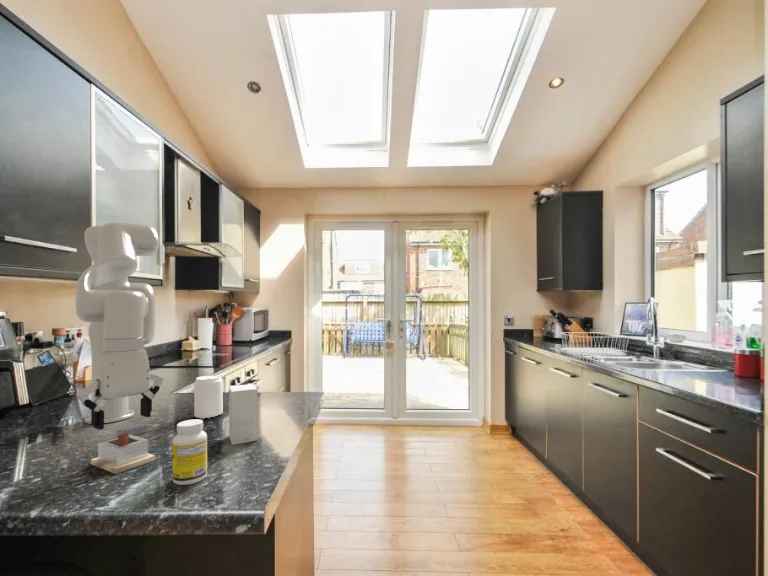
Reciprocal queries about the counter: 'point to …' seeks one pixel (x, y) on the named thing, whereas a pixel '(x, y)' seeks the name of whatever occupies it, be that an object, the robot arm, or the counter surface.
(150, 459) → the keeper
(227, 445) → the counter surface
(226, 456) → the counter surface
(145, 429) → the grey plaster slab
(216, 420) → the counter surface
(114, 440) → the white hollow block
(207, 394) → the beverage can
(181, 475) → the pill bottle
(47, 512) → the counter surface
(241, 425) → the small box
